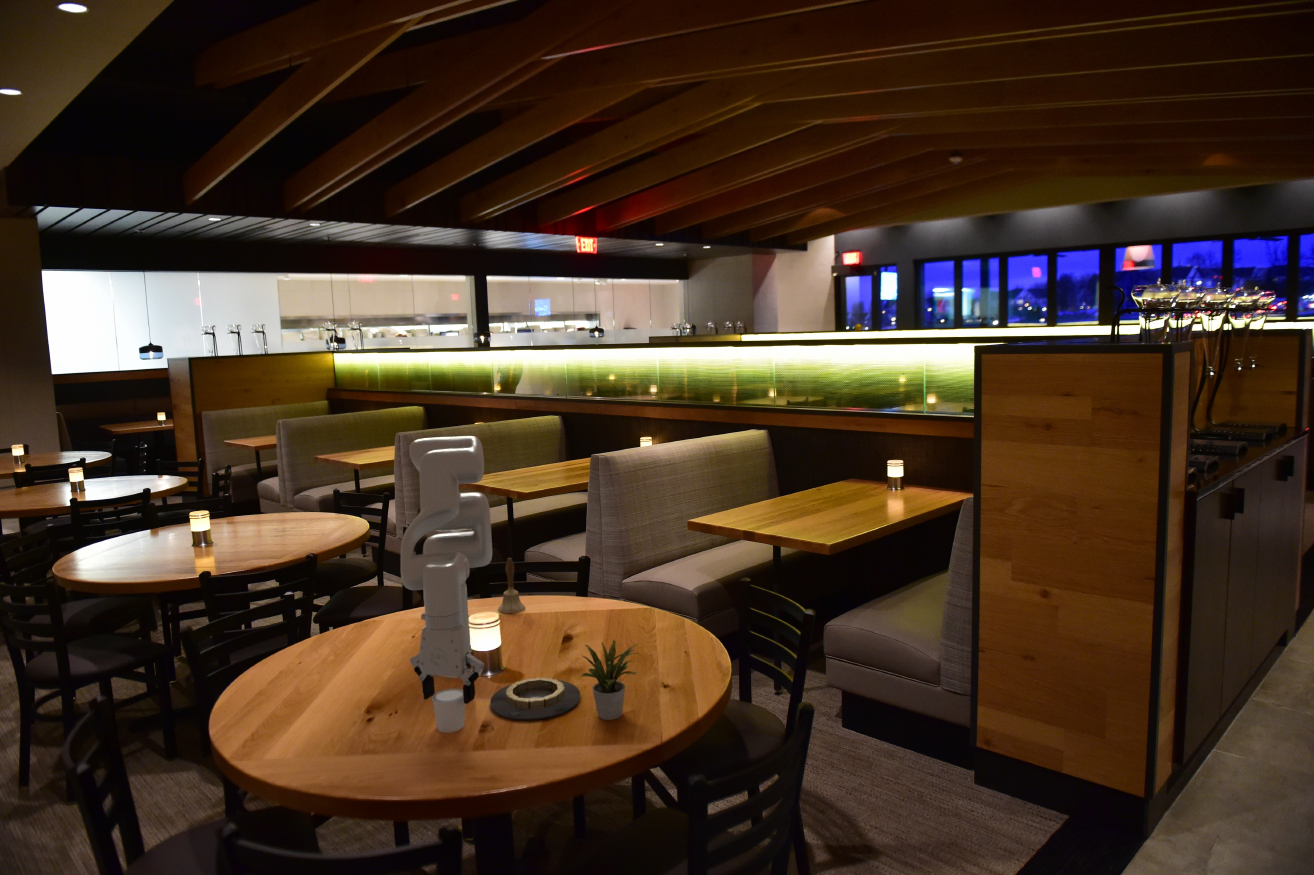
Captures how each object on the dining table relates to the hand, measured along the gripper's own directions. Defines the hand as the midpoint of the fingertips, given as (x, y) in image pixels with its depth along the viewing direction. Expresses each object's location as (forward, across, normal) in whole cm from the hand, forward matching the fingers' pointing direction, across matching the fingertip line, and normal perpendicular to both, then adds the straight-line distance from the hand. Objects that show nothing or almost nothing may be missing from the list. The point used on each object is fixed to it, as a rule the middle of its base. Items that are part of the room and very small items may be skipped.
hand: (449, 699), depth 178 cm
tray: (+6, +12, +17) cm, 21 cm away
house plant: (+7, +32, +14) cm, 35 cm away
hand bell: (+5, -25, +75) cm, 79 cm away
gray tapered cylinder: (+6, 0, +1) cm, 7 cm away
